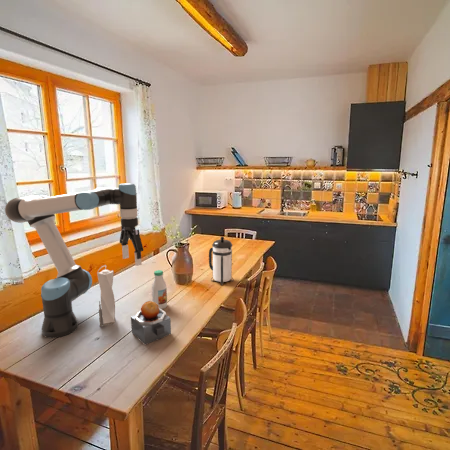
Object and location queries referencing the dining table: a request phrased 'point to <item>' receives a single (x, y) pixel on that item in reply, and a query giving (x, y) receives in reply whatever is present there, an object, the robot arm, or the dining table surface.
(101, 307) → the skyscraper
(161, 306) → the milk bottle
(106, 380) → the dining table surface
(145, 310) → the fruit
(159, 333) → the grey octagonal pot
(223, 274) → the coffee press
